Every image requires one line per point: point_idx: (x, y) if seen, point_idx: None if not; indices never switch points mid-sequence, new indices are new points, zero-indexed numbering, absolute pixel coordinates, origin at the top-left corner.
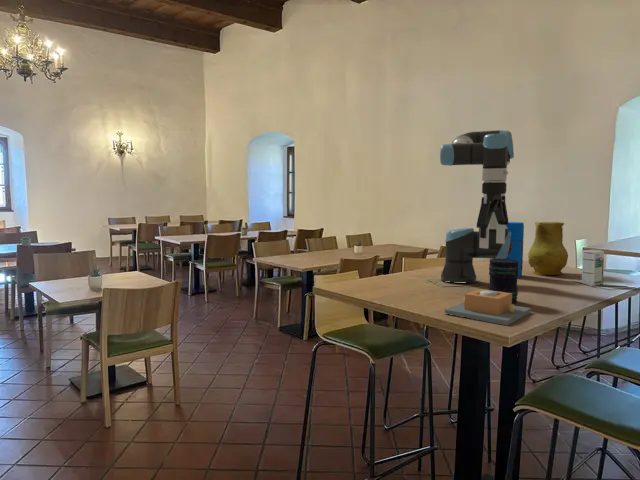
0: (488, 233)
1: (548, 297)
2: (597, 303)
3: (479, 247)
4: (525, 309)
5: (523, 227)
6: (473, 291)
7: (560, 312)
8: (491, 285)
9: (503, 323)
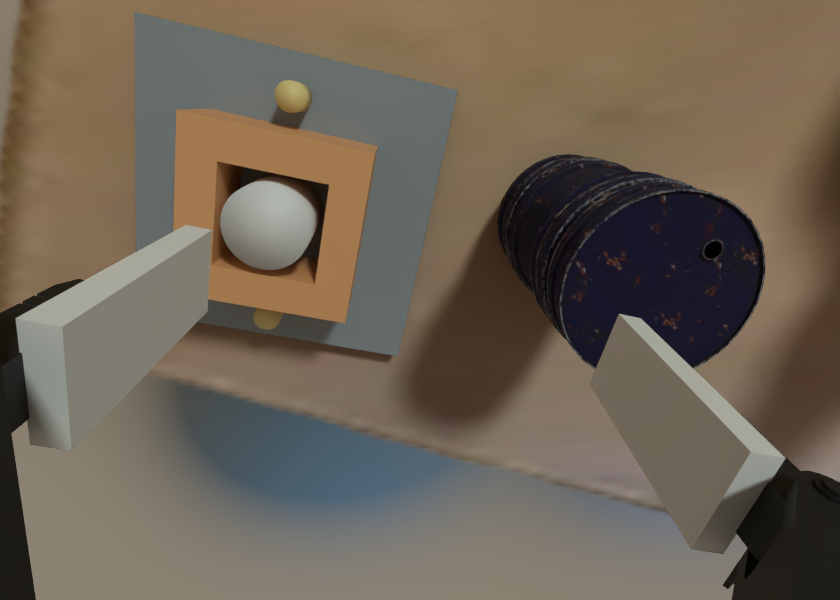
0: (110, 397)
1: (713, 372)
2: (652, 508)
3: (184, 227)
4: (364, 342)
5: None
6: (279, 139)
7: (456, 428)
8: (549, 188)
9: None
